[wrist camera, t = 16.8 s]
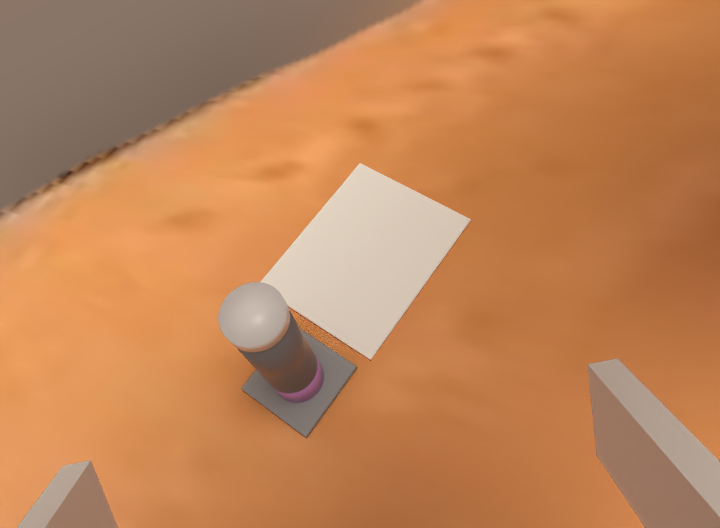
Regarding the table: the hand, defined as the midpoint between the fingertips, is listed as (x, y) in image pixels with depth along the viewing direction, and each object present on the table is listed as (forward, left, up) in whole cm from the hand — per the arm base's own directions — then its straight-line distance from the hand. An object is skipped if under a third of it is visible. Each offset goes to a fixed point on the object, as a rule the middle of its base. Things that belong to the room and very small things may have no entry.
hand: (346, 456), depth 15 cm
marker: (-4, -11, -24) cm, 27 cm away
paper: (-15, -13, -25) cm, 32 cm away
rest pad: (-4, -11, -25) cm, 27 cm away
